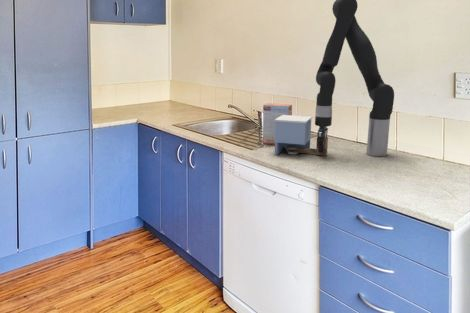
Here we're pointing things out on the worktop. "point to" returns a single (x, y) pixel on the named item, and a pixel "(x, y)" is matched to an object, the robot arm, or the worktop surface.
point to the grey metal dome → (292, 152)
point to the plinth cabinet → (292, 132)
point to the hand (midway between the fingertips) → (321, 151)
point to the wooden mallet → (310, 150)
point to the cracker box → (268, 120)
